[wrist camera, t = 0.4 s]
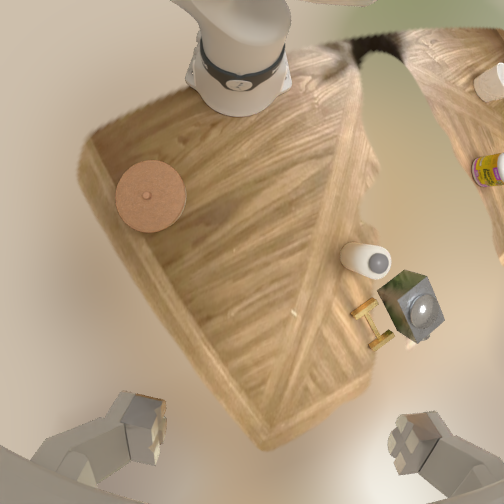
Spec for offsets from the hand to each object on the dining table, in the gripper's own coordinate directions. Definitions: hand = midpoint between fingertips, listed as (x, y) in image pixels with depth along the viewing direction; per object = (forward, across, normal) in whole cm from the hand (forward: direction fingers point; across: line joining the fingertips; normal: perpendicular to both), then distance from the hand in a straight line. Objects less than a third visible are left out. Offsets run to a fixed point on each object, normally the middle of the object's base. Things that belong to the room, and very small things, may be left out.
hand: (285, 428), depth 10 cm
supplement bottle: (+52, -47, -18) cm, 73 cm away
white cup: (+56, -49, -40) cm, 85 cm away
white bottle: (+47, -16, +3) cm, 50 cm away
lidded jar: (+45, +18, -3) cm, 49 cm away
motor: (+46, -27, +14) cm, 55 cm away
